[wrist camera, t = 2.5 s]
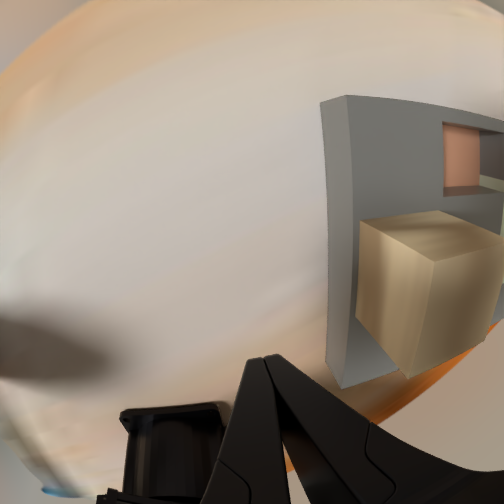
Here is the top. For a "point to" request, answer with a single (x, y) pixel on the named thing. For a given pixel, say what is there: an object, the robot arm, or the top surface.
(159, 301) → the top surface
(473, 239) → the maple block
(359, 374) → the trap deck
